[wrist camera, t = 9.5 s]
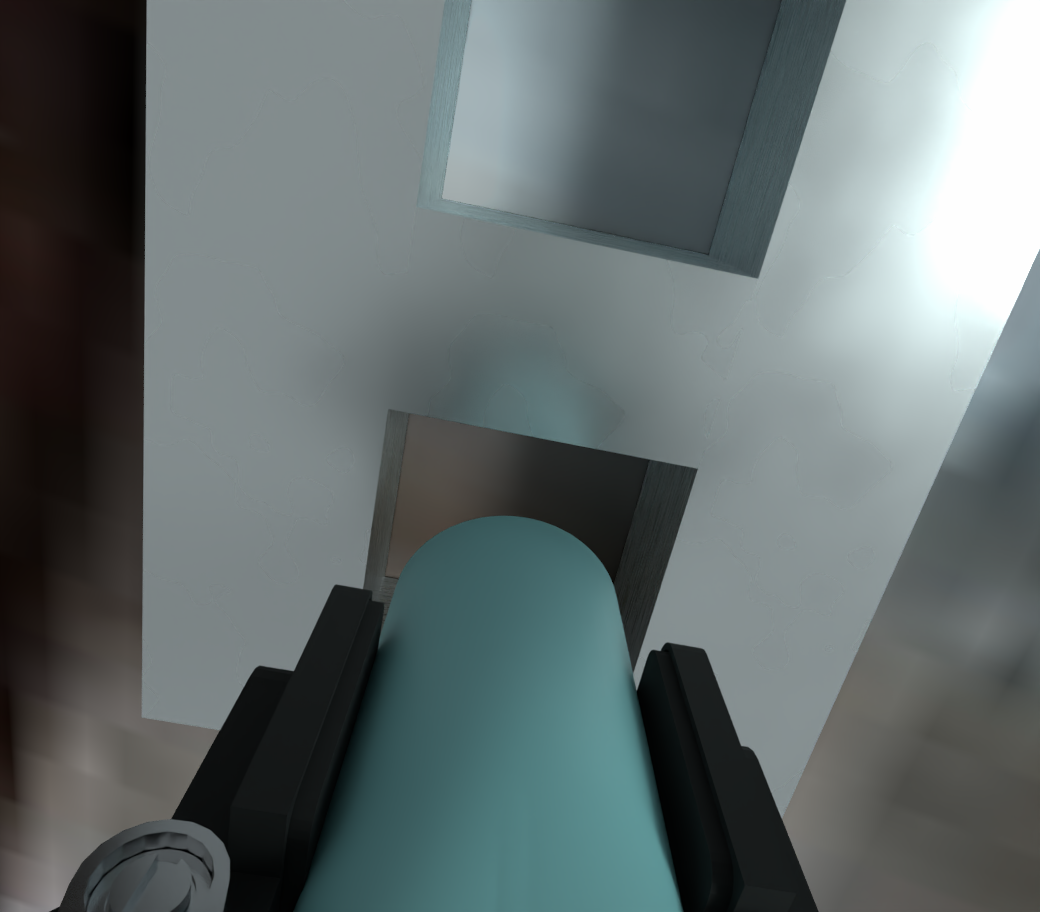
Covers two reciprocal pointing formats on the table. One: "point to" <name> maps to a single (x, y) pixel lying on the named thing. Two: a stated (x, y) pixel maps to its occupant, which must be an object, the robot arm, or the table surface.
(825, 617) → the block
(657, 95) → the table surface
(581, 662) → the peg
